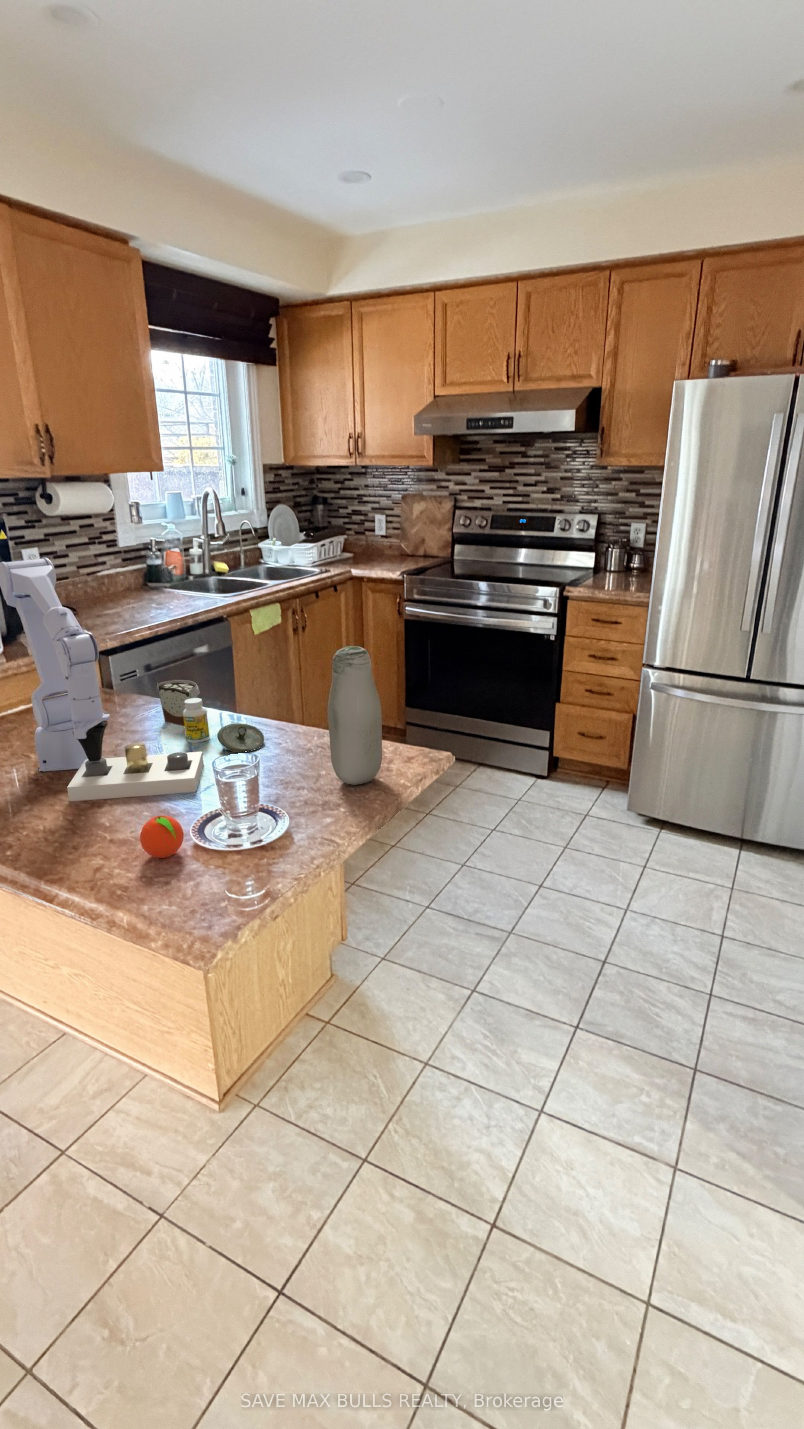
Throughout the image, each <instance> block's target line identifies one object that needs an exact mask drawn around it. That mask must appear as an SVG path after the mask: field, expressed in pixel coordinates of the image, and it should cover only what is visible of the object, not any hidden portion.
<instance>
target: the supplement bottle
mask: <svg viewBox="0 0 804 1429" xmlns="http://www.w3.org/2000/svg"><path fill="white" fill-rule="evenodd" d="M184 704H185V707H186V709H185V710H184V711H183V719H184V726H185V727H184V733H185V738H186V741H187V742H188V743H193V744H195V743H196V744H198V743H199V744H200V743H203V742H205V741H208V740H209V739H210V737H211V736H210V728H209V720H208V719H209V718H208V712H207V709H206V707H204V706H203V705H204V704H203V700H202V698H199V697H197V698H191V699H187V700H185V701H184Z"/></svg>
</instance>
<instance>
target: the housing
mask: <svg viewBox="0 0 804 1429" xmlns="http://www.w3.org/2000/svg"><path fill="white" fill-rule="evenodd" d="M185 753H186V754H187V756H188V764H189V770H176V771H169V768H168V761H167V756H168V755H170V754H171V753H164V754H163V753H162V754H148V755H147V761H148V770H147V771H145V772H142V773H129V772H128V768H127V762H126V756H122V757H120V756H119V757H106V758H105V757H103V758H104V759H106V762H107V768H108V775H107V776H93V777H87V772H86V767H85V762H86V761H88V760H85V761H84V763H83V764H82V766H81V767H80V769H77V771H76V773H75V775H74V776H73V778H72V779H71V781H70V782H69V783H68V786H67V787H66V790H67V794H68V801H69V802H80V801H93V800H94V801H95V800H107V799H108V800H109V799H118V798H131V797H144V796H145V797H146V796H158V795H160V796H161V795H171V794H172V795H173V794H186V793H196V792H197V790H198V786H199V783H200V779H201V775H202V772H203V768H204V766H205V764H204V758H203V757H204V756H203V751H193V752H192V751H191V752H185Z"/></svg>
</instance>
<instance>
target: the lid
mask: <svg viewBox="0 0 804 1429" xmlns="http://www.w3.org/2000/svg"><path fill="white" fill-rule="evenodd" d="M216 736H217V740H218V742H219V743H220V744H221V745H222V747H224V748H226V749H227V750H229V751H232V752H233V753H240V752H241V753H249V752H248V751H251V750H254V749H257V748H259V747H260V748H261V747H262V746H263V745H264V742H265V736H264V733H263V732H262V730H260V729H259V728H257V727H256V726H254V725H250V724H247V723H230V724H228V725H225V726H221V728H220V729H219V730H218V732H217V735H216ZM260 748H259V749H260ZM257 750H258V749H257ZM245 751H247V752H245ZM254 751H255V750H254ZM251 752H252V751H251Z"/></svg>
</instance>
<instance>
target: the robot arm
mask: <svg viewBox="0 0 804 1429" xmlns="http://www.w3.org/2000/svg"><path fill="white" fill-rule="evenodd" d="M56 583H57V573H56V569H55V566H54V564H53V562H52V561H51V560H50V559H49V558H48V557H42V558H34V559H26V560H16V561H1V562H0V589H1V593H2V596H3V599H4V600H5V603H6V605H7V606H10V607H13V608H16V611H17V613H18V615H19V618H20V621H21V623H22V627H23V631H24V633H25V636H26V639H27V644H28V647H29V649H30V653H31V655H32V659H33V662H34V664H35V668H36V672H37V675H38V678H39V681H40V683H39V685H38V686H37V687H36V689H34V691H33V692H32V693H31V696H30V700H31V704H32V705H31V706H32V711H33V712H32V713H33V716H34V719H35V721H36V722H35V723H36V724H37V726H38V727H37V728H36V729H35V732H34V744H35V750H36V756H37V761H38V765H39V766H38V767H39V768H38V771H39V772H40V771H43V772H53V771H67V770H68V771H71V770H79V769H80V767H81V766H82V764H83V763H84V761H85V760H89V761H100V759H101V758H102V756H103V739H104V735H105V731H106V728H107V725H108V723H106V722H102V721H106V720H107V721H109V720H110V718H111V714H110V713H105V714H104V710H103V704H102V697H101V693H100V692H101V691H100V684H99V680H98V673H97V672H98V671H97V666H96V662H98V661H99V659H100V658H99V656H100V652H99V646H98V642H97V640H96V638H95V637H94V634H93V633H92V632H90V631H88V630H87V629H83V628H82V626H81V625H80V623H79V621H78V620H77V618H76V616H75V615H74V613H73V611H72V610H71V609H70V608H67V607H66V606H65V607H64V606H63V605H62V603H61V601H60V599H59V597H58V594H57V592H56V590H55V589H56Z"/></svg>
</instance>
